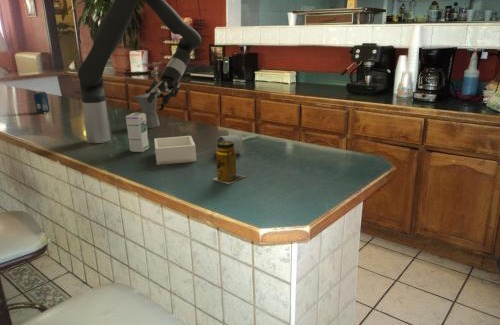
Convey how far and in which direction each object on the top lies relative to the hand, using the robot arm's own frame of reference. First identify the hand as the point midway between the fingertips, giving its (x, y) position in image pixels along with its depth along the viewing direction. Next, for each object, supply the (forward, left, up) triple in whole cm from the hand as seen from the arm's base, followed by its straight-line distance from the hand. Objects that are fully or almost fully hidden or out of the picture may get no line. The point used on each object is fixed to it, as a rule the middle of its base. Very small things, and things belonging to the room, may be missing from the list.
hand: (156, 103), depth 161 cm
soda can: (-63, +87, -17) cm, 109 cm away
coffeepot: (-2, +34, -17) cm, 38 cm away
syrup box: (-8, -7, -17) cm, 20 cm away
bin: (+5, -21, -17) cm, 28 cm away
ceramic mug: (+25, -23, -17) cm, 38 cm away
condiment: (+20, -48, -17) cm, 55 cm away
